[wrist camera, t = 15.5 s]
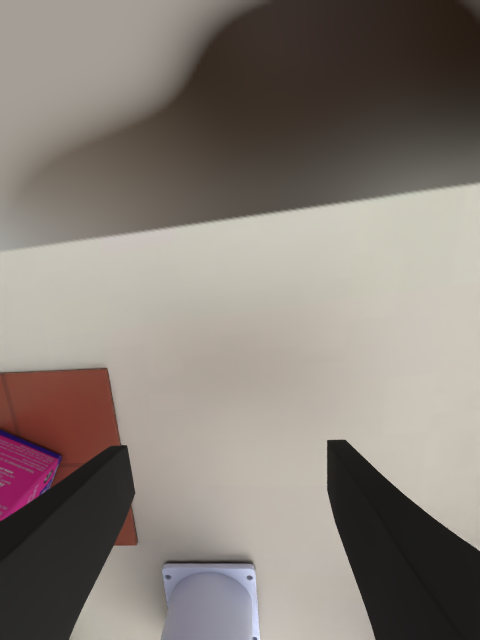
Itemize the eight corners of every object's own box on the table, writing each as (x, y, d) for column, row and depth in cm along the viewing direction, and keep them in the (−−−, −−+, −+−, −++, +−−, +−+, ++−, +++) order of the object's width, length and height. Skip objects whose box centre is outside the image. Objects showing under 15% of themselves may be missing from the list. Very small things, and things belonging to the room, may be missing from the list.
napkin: (137, 542, 24) (136, 545, 24) (-35, 542, 25) (-39, 546, 25) (107, 368, 21) (104, 369, 20) (-91, 376, 22) (-96, 378, 21)
